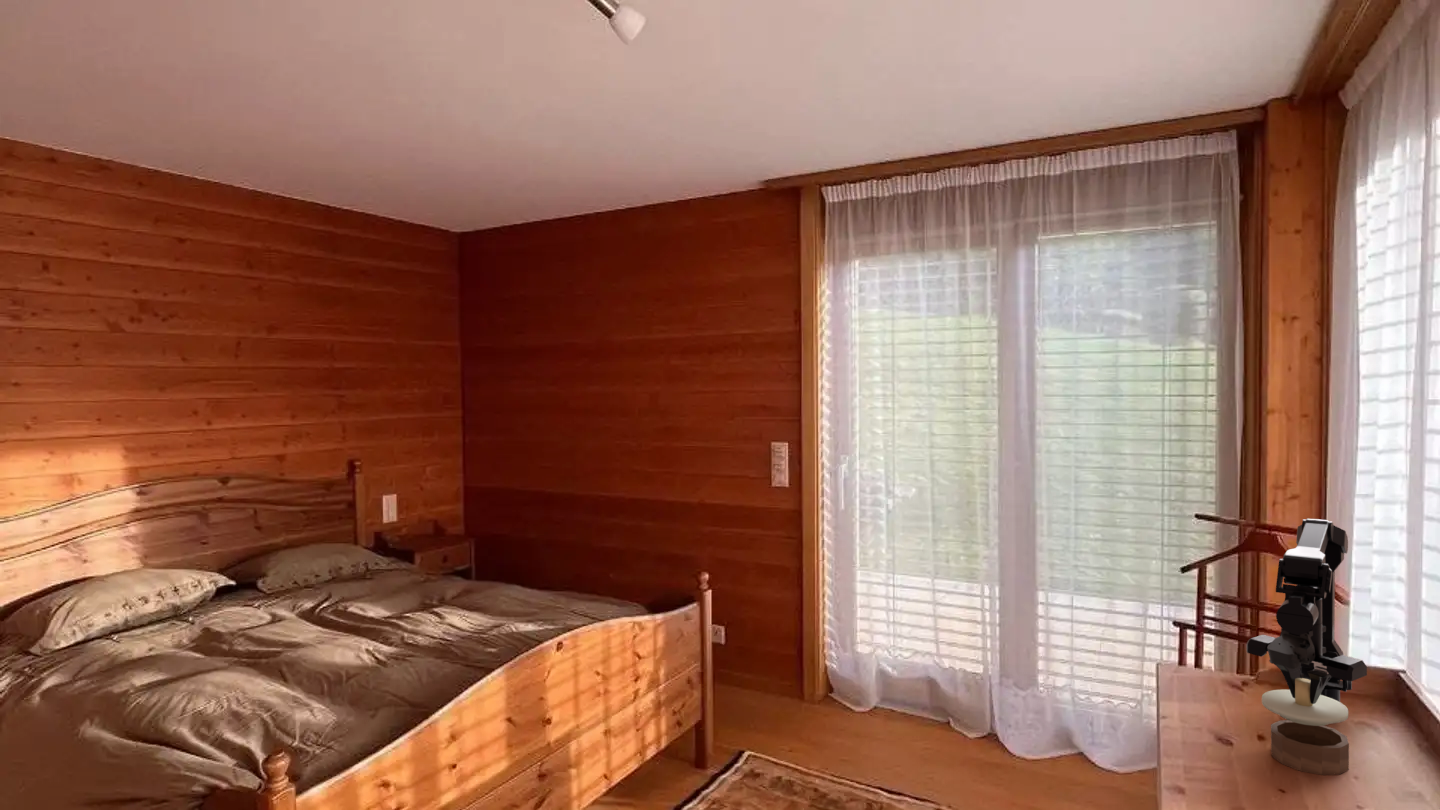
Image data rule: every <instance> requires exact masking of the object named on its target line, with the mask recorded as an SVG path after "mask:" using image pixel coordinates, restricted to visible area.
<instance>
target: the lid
mask: <svg viewBox="0 0 1440 810" xmlns="http://www.w3.org/2000/svg"><path fill="white" fill-rule="evenodd" d="M1310 683H1311V680H1309V679H1304V678H1296V679H1295V698H1293V697H1292V694H1291V692H1290V689H1272V690H1268V691H1266V692H1264V693H1263V694H1262V696H1261V704H1262V706H1263V707H1264V708H1266V710H1268V711H1270V712H1272V713H1274V714H1276V715H1279V717H1281V718H1283V720H1289V721H1292V722H1295V723H1299V724H1304V725H1312V726H1323V725H1324V726H1327V725H1330V724H1331V725H1332V724H1338V723H1342V722H1345V721H1346V720H1348V718H1349V709H1348V707H1347V706H1346V705H1345V704H1343V702H1341V701H1340V702H1339V701H1337V700H1334V699H1332V698H1329V697H1326V696H1323V695H1320V696H1319V698H1318V700H1317V702H1316V703H1315V704H1311V701H1310Z"/></svg>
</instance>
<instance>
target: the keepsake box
mask: <svg viewBox="0 0 1440 810" xmlns="http://www.w3.org/2000/svg"><path fill="white" fill-rule="evenodd" d="M1270 742H1271V743H1270V744H1271V745H1270V749H1271V750H1270V751H1271V757H1272V758H1273V759H1275V760H1276V761H1277V762H1279V763H1280V764H1281V765H1284V766H1286V767H1289V768H1290V769H1291V768H1292V769H1293V770H1294V769H1295V770H1296V771H1299V772H1303V773H1309V774H1315V775H1320V776H1327V775H1328V776H1329V775H1332V776H1333V775H1341V774H1343V773H1345V772H1347V771H1349V770H1350V762H1349V761H1350V756H1349V755H1350V751H1349V749H1350V748H1349V747H1350V746H1349V744H1350V743H1349V740H1348V736H1347V735H1345V734H1344V733H1343V732H1341V731H1339V730H1337V729H1336V728H1333V727H1330V726H1327V725H1323V726H1312V725H1304V724H1299V723H1295V722H1292V721H1289V720H1287V719H1283V720H1278V721H1275V722H1274V723H1271V724H1270Z"/></svg>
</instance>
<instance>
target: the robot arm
mask: <svg viewBox="0 0 1440 810" xmlns="http://www.w3.org/2000/svg"><path fill="white" fill-rule="evenodd" d="M1301 523H1302V524H1300V525H1299V526H1297V531H1296V542H1295V543H1296V546H1295V548H1290V549H1287V550H1286V552H1285V553H1284V554H1283V557H1282V558H1279V561H1278V566H1277V567H1278V569H1277V574H1276V583H1275V593H1280V594H1284V601H1283V602H1282V603H1281V605H1280V607H1279V608H1278V609H1277V611H1276V614H1275V617H1276V621H1277V625H1279V627H1280V628H1281V629H1280V635H1279V636H1277V637H1274V636H1270V635H1267V634H1266V635H1265V634H1261V635H1258V636H1255V637H1251V638H1249V639H1248V640H1247V642H1246V653H1247V654H1249V655H1253V656H1256V657H1263V656H1265V655H1266V654H1268V656H1269V657H1268V658H1269V660H1268V662H1269V663H1271V664H1273V665H1274V666H1275V667H1277V668H1278V669H1279V670H1280V672H1281V673H1282V674H1281V675H1283V677H1284V680H1285V682H1286V685H1287V687H1288V690H1290V692H1291V694H1292V697H1293V698H1295V679H1296V678H1304V679H1309V680H1311V683H1310V701H1311V704H1315V703H1316V702H1317V700H1318V698H1319V696H1320V695H1323V696H1326V697H1329V698H1332V699H1334V700H1337V701H1339V702H1340V703H1341V691H1342V692H1345V693H1347V691H1351V690H1353V687H1352V686H1353V685H1352V684H1353V681H1354V682H1355V681H1356V680H1359V679H1361V678H1363V677H1366V676H1368V667H1367V664H1366V663H1365V662H1364V660H1363V659H1359V658H1355V657H1352V656H1348V655H1344V652H1343V650H1342V649H1341V647H1340V645H1339V644H1338V642H1337V641H1336V640H1335V623H1336V620H1335V619H1336V618H1335V617H1336V616H1335V607H1336V606H1335V605H1336V604H1335V603H1336V601H1335V600H1336V599H1335V597H1336V593H1335V590H1336V587H1335V586H1336V576H1335V575H1336V570H1337V569H1338V567H1339V566H1340V565H1341V564H1342V563H1343V561H1344V559H1345V554H1348V550H1349V539H1348V534H1347V531H1346V530H1344V529H1341V528H1340V527H1338V526H1337V525H1334V522H1333V521H1329V520H1328V519H1319V518H1306V519H1302V522H1301Z"/></svg>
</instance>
